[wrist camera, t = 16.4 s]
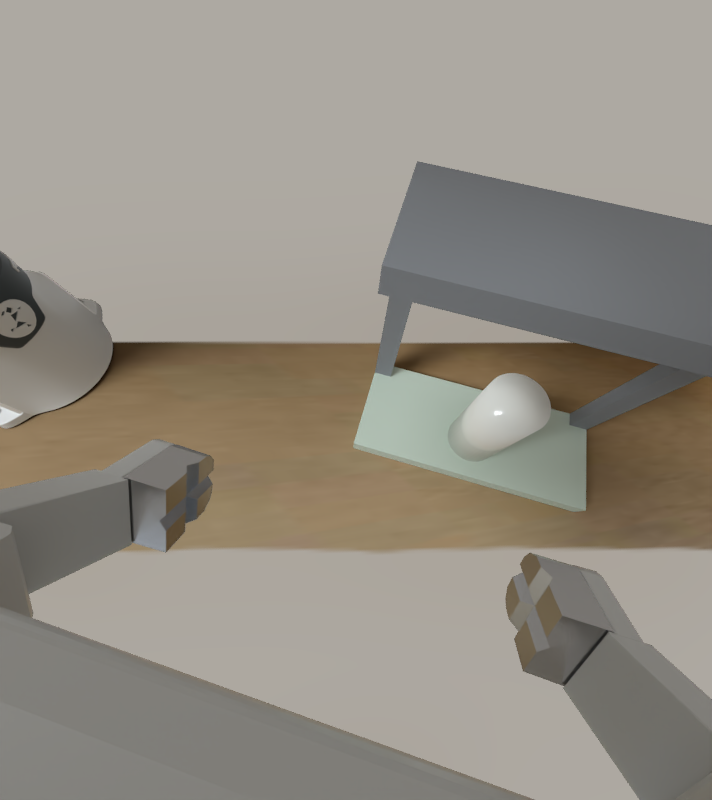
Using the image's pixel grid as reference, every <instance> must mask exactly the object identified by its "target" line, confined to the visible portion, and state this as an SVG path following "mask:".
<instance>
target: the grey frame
mask: <svg viewBox="0 0 712 800" xmlns="http://www.w3.org/2000/svg"><path fill="white" fill-rule="evenodd" d="M378 293H379V294H383V295H386V296H389V302H388V307H387V313H386V317H385V323H384V328H383V333H382V339H381V344H380V349H379V354H378V360H377V365H376V370H375V374H374V378H373V381H372V384H371V388H370V391H369V395H368V398H367V401H366V405H365V408H364V411H363V415H362V418H361V421H360V425H359V428H358V431H357V435H356V438H355V441H354V447H353V448H355V449H359V450H362V451H366V452H369V453H373V454H376V455H380V456H383V457H386V458H390V459H393V460H397V461H400V462H404V463H407V464H411V465H414V466H417V467H421V468H424V469H428V470H431V471H435V472H438V473H441V474H445V475H448V476H452V477H455V478H459V479H462V480H466V481H469V482H472V483H476V484H479V485H483V486H486V487H490V488H493V489H497V490H500V491H503V492H507V493H510V494H514V495H517V496H521V497H524V498H528V499H531V500H534V501H538V502H541V503H545V504H548V505H552V506H555V507H559V508H562V509H565V510H569V511H572V512H578V511H586V430H587V429H589V428H591V427H594V426H596V425H598V424H600V423H602V422H605V421H607V420H609V419H611V418H614V417H616V416H618V415H620V414H623V413H625V412H627V411H629V410H631V409H634V408H636V407H638V406H640V405H643V404H645V403H647V402H649V401H651V400H654V399H656V398H658V397H660V396H663V395H665V394H667V393H669V392H672V391H674V390H676V389H678V388H680V387H683V386H685V385H687V384H689V383H692V382H694V381H696V380H698V379H701V378H703V377H705V376H709V377H712V225H708V224H704V223H699V222H695V221H689V220H685V219H680V218H676V217H672V216H667V215H662V214H657V213H653V212H648V211H643V210H639V209H635V208H630V207H625V206H620V205H616V204H612V203H607V202H602V201H598V200H593V199H589V198H584V197H579V196H575V195H570V194H565V193H561V192H556V191H552V190H547V189H542V188H538V187H533V186H529V185H524V184H519V183H515V182H510V181H506V180H500V179H496V178H492V177H486V176H482V175H478V174H473V173H468V172H464V171H459V170H455V169H450V168H445V167H441V166H436V165H432V164H427V163H423V162H417V164H416V167H415V170H414V173H413V176H412V179H411V182H410V185H409V188H408V191H407V193H406V196H405V200H404V202H403V205H402V208H401V211H400V214H399V217H398V220H397V223H396V226H395V229H394V232H393V235H392V238H391V241H390V244H389V247H388V249H387V252H386V255H385V258H384V261H383V264H382V269H381V276H380V283H379V291H378ZM412 302H414V303H418V304H422V305H426V306H430V307H434V308H438V309H442V310H446V311H450V312H454V313H458V314H462V315H466V316H470V317H474V318H478V319H482V320H486V321H490V322H494V323H498V324H502V325H506V326H510V327H514V328H518V329H522V330H526V331H530V332H534V333H538V334H541V335H546V336H549V337H553V338H557V339H561V340H566V341H569V342H573V343H577V344H581V345H585V346H589V347H593V348H597V349H601V350H605V351H609V352H613V353H617V354H621V355H625V356H629V357H633V358H637V359H641V360H645V361H649V362H653V363H657V364H659V365H657V366H655V367H654V368H652V369H650V370H648V371H646V372H645V373H643V374H641V375H639V376H637V377H635V378H634V379H632V380H630V381H628V382H626V383H625V384H623V385H621V386H619V387H617V388H616V389H614V390H612V391H610V392H608V393H606V394H605V395H603V396H601V397H599V398H597V399H596V400H594V401H592V402H590V403H588V404H587V405H585V406H583V407H581V408H579V409H578V410H576V411H574V412H572V413H570V414H569V413H565V412H561V411H558V410H554V409H551V415H550V418H549V420H548V422H547V423H546V425H545V426H544V427H543V428H541V429H540V430H538V431H536V432H534V433H532V434H530V435H529V436H527V437H525V438H523V439H521V440H520V441H518V442H516V443H514V444H512V445H510V446H509V447H507V448H505V449H503V450H501V451H499V452H498V453H496V454H494V455H492V456H490V457H488V458H487V459H485V460H482V461H478V462H471V461H467V460H465V459H462V458H461V457H459V456H458V455H457V454H456V453H455V452H454V451H453V450H452V448H451V446H450V444H449V441H448V430H449V427H450V425H451V424H452V423H453V421H454V420H455V419H456V418H457V417H458V416H459V415H460V414H461V413H462V412H463V411H464V410H465V409H466V408H467V407H468V406H469V405H470V404H471V403H472V402H473V401H474V400H475V399H476V397H477V396H478V395H479V394H480V393H481V392H482V391H483V390H479V389H475V388H472V387H468V386H464V385H461V384H457V383H453V382H449V381H446V380H442V379H438V378H434V377H431V376H427V375H423V374H420V373H416V372H412V371H408V370H405V369H401V368H397V367H394V363H395V360H396V356H397V353H398V349H399V346H400V343H401V339H402V336H403V332H404V328H405V325H406V322H407V318H408V315H409V312H410V308H411V304H412Z"/></svg>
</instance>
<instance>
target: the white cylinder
mask: <svg viewBox="0 0 712 800" xmlns="http://www.w3.org/2000/svg"><path fill="white" fill-rule="evenodd" d="M550 415H551V404H550V400H549V398H548V395H547V394H546V392H545V390H544V389H543V388H542V387H541V386H540V385H539V384H538V383H537V382H536V381H534V380H533V379H531V378H529V377H527V376H525V375H522V374H517V373H508V374H503V375H500V376H498V377H497V378H495V379H494V380H493V381H492V382H491V383H490V384H489V385H488V386H487V387H486V388H485V389H484V390H483V391H482V392H481V393H480V394H479V395H478V396H477V397H476V399H475V400H474V401H473V402H472V403H471V404H470V405H469V406H468V407H467V408H466V409H465V410H464V411H463V412H462V413H461V414H460V415H459V416H458V417H457V418H456V419H455V420H454V421H453V423H452V424H451V425H450V427H449V430H448V441H449V444H450V446H451V448H452V450H453V451H454V452H455V453H456V454H457V455H458V456H459V457H461V458H462V459H465V460H467V461H471V462H478V461H482V460H485V459H487V458H488V457H490V456H492V455H494V454H496V453H498V452H499V451H501V450H503V449H505V448H507V447H509V446H510V445H512V444H514V443H516V442H518V441H520V440H521V439H523V438H525V437H527V436H529V435H530V434H532V433H534V432H536V431H538V430H540V429H541V428H543V427H544V426H545V425H546V423H547V422H548V420H549V418H550Z"/></svg>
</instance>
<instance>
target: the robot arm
mask: <svg viewBox="0 0 712 800" xmlns="http://www.w3.org/2000/svg"><path fill="white" fill-rule="evenodd" d="M112 352H113V343H112V339H111V336H110V333H109V332H108V330H107V328H106V327H105V326H104V324H103V322H102V309H101V307H100V305H99V304H97V303H96V302H95V301H93V300H87V299H77V298H75V297H74V296H73V295H72V294H70V293H69V292H68V291H66V290H65V289H64V288H63V287H61V286H60V285H59V284H57V283H56V282H55V281H54V280H52V279H51V278H50V277H48V276H47V275H45V274H44V273H42V272H34V271H28V270H22V269H21V268H20V267H18V266H17V265H16V264H15V262H14V261H12V259H10V258H9V257H8V256H7V255H5V254H4V253H3V252H1V251H0V427H2V428H11V427H14V426H16V425H18V424H20V423H22V422H23V421H25V420H27V419H28V418H30V417H32V416H33V415H36V414H39V413H43V412H47V411H51V410H54V409H58V408H60V407H63V406H65V405H67V404H70V403H72V402H73V401H75V400H77V399H78V398H80V397H81V396H83V395H84V394H86V393H87V392H88V391H89V390H90V389H91V388H93V387H94V386H95V385H96V383H97V382H98V381H99V380H100V379H101V377H102V376H103V375H104V373H105V371H106V370H107V368H108V366H109V363H110V361H111V357H112ZM213 470H214V459H213V458H212V457H211V456H210V455H207V454H204V453H201V452H198V451H195V450H192V449H189V448H185V447H182V446H179V445H175V444H173V443H169V442H166V441H163V440H160V439H156V440H152V441H150V442H148V443H147V444H145V445H143V446H142V447H140V448H138V449H137V450H135V451H133V452H132V453H130V454H129V455H127V456H125V457H124V458H122V459H120V460H119V461H117V462H115V463H114V464H112V465H111V466H109V467H107V468H106V469H104V470H102V471H99V470H96V469H94V470H90V471H85V472H80V473H76V474H71V475H66V476H62V477H57V478H52V479H48V480H43V481H38V482H34V483H29V484H24V485H20V486H15V487H10V488H6V489H1V490H0V800H534V799H531V798H528V797H526V796H523V795H520V794H517V793H514V792H512V791H509V790H506V789H504V788H501V787H498V786H495V785H493V784H490V783H487V782H484V781H481V780H479V779H476V778H473V777H470V776H468V775H465V774H462V773H459V772H457V771H454V770H451V769H448V768H446V767H443V766H440V765H437V764H435V763H432V762H429V761H426V760H424V759H421V758H418V757H415V756H412V755H410V754H407V753H404V752H401V751H399V750H396V749H393V748H390V747H388V746H385V745H382V744H379V743H376V742H374V741H371V740H368V739H366V738H362V737H360V736H357V735H354V734H352V733H349V732H346V731H343V730H341V729H338V728H335V727H332V726H330V725H327V724H324V723H321V722H319V721H315V720H313V719H310V718H307V717H304V716H302V715H299V714H296V713H294V712H291V711H288V710H285V709H282V708H280V707H277V706H274V705H271V704H269V703H266V702H263V701H260V700H258V699H255V698H252V697H249V696H246V695H243V694H241V693H238V692H235V691H233V690H229V689H227V688H224V687H221V686H219V685H216V684H213V683H210V682H208V681H205V680H202V679H199V678H197V677H194V676H191V675H188V674H185V673H183V672H180V671H177V670H174V669H172V668H169V667H166V666H163V665H160V664H158V663H155V662H152V661H150V660H147V659H144V658H141V657H138V656H136V655H133V654H130V653H127V652H125V651H122V650H119V649H116V648H113V647H111V646H108V645H105V644H102V643H99V642H97V641H94V640H91V639H88V638H86V637H83V636H80V635H78V634H75V633H72V632H69V631H67V630H64V629H61V628H58V627H55V626H52V625H50V624H47V623H44V622H42V621H39V620H36V619H33V618H32V617H33V610H32V606H31V602H30V598H29V594H30V593H32V592H34V591H36V590H38V589H40V588H42V587H44V586H47V585H49V584H51V583H53V582H55V581H57V580H59V579H61V578H63V577H65V576H67V575H69V574H71V573H74V572H76V571H78V570H80V569H82V568H84V567H86V566H88V565H90V564H92V563H94V562H96V561H98V560H101V559H102V558H105V557H107V556H109V555H111V554H113V553H115V552H117V551H119V550H121V549H123V548H125V547H128V546H130V545H131V544H132V543H135V544H139V545H142V546H145V547H149V548H152V549H156V550H159V551H162V552H167V551H168V550H169V549H170V548H171V547H172V545H173V544H174V543H175V542H176V541H177V540H178V539H179V538H180V537H181V536H182V535H183V534H184V532H185V523H188V522H190V521H193V520H196V519H197V518H198V517H199V516H200V515H201V513H202V512H203V511H204V509H205V508H206V506H207V504H208V502H209V500H210V497H211V493H212V485H213V484H212V482H211V480H210V479H209V477H208V475H209V474H210V473H211V472H212V471H213ZM520 565H521V568H522V571H523V573H520V574H518V575H516V576H514V577H512V579H511V581H510V583H509V585H508V587H507V593H506V609H507V613H508V617H509V620H510V621H511V622H512V624H513V625H514V626H515V628H516V629H517V630H518V633H517V635H516V637H515V639H514V640H515V643H516V647H517V651H518V654H519V658H520V662H521V665H522V669H523V671H524V672H527V673H529V674H532V675H535V676H538V677H541V678H543V679H546V680H549V681H551V682H554V683H557V684H560V685H563V686H564V690H565V691H566V693H567V694H568V696H569V697H570V699H571V700H572V702H573V703H574V705H575V706H576V707H577V709H578V710H579V712H580V713H581V715H582V716H583V718H584V719H585V721H586V722H587V724H588V725H589V726H590V728H591V729H592V731H593V732H594V734H595V735H596V737H597V738H598V740H599V741H600V743H601V744H602V746H603V747H604V748H605V750H606V751H607V753H608V754H609V756H610V757H611V759H612V760H613V762H614V763H615V764H616V766H617V767H618V769H619V770H620V772H621V773H622V775H623V776H624V778H625V779H626V780H627V782H628V783H629V785H630V786H631V788H632V789H633V791H634V792H635V794H636V795H637V797H638V798H639V799H640V800H712V699H710V697H708V696H707V695H706V694H705V693H704V692H703V691H702V690H701V689H699V688H698V687H697V686H696V685H695V684H694V683H693V682H692V681H691V680H689V679H688V678H687V677H686V676H685V675H684V674H683V673H682V672H681V671H680V670H678V669H677V668H676V667H675V666H674V665H673V664H672V663H671V662H670V661H668V660H667V659H666V658H665V657H664V656H663V655H662V654H661V653H659V652H658V651H657V650H656V649H655V648H654V647H653V646H652V645H649V644H646V643H643V641H642V639H641V638H640V636H639V635H638V633H637V631H636V630H635V628H634V627H633V625H632V623H631V622H630V620H629V618H628V617H627V616H626V614H625V612H624V610H623V609H622V607H621V606H620V604H619V602H618V601H617V599H616V598H615V596H614V594H613V593H612V591H611V590H610V588H609V586H608V585H607V583H606V582H605V580H604V578H603V577H602V576H601V575H600V574H598V573H597V572H596V571H593V570H589V569H585V568H582V567H578V566H574V565H569V564H566V563H562V562H559V561H556V560H552V559H549V558H545V557H542V556H539V555H535V554H532V553H529V554H528V555H526V556H525V557H524V558H523V560H522V562H521V564H520Z"/></svg>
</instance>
